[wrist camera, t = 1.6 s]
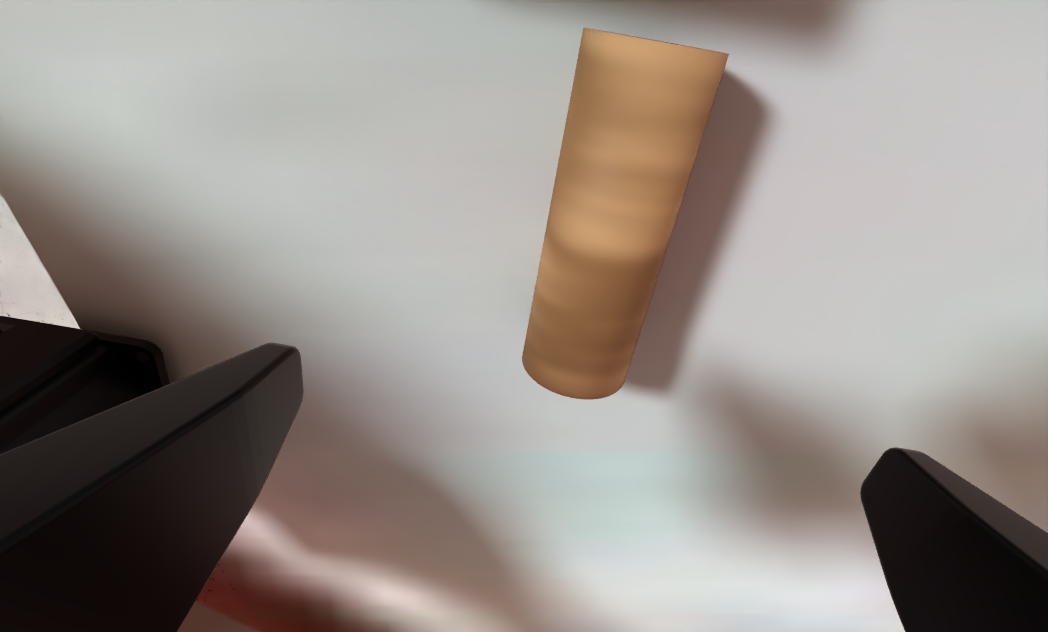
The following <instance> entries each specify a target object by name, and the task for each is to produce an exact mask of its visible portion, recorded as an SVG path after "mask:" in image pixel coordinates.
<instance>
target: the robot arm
mask: <svg viewBox="0 0 1048 632" xmlns="http://www.w3.org/2000/svg"><path fill="white" fill-rule="evenodd" d="M302 398H303V379H302V367H301V356H300V352H299V350H298V349H297V348H296V347H294V346H289V345H283V344H277V343H267V344H265V345H262V346H260V347H257V348H255V349H253V350H250V351H248V352H245V353H243V354H241V355H238V356H236V357H233V358H231V359H229V360H226V361H224V362H221V363H219V364H216V365H214V366H212V367H209V368H207V369H204V370H202V371H200V372H197V373H195V374H192V375H190V376H188V377H185V378H183V379H180V380H178V381H176V382H173V383H171V384H170V382H169V378H168V374H167V370H166V366H165V362H164V358H163V354H162V352H161V350H160V348H159V347H158V346H157V345H156V344H154V343H152V342H150V341H147V340H141V339H135V338H129V337H123V336H117V335H111V334H105V333H99V332H94V331H88V330H82V329H76V328H70V327H64V326H58V325H52V324H46V323H40V322H34V321H29V320H23V319H17V318H11V317H5V316H0V632H177V631H178V629H179V627H180V626H181V624H182V622H183V621H184V619H185V617H186V616H187V614H188V612H189V611H190V609H191V608H192V606H193V604H194V603H195V601H196V599H197V598H198V596H199V594H200V593H201V591H202V589H203V588H204V586H205V584H206V583H207V581H208V579H209V578H210V576H211V574H212V573H213V571H214V569H215V568H216V566H217V564H218V563H219V561H220V559H221V558H222V556H223V554H224V553H225V551H226V549H227V548H228V546H229V544H230V543H231V541H232V539H233V538H234V536H235V534H236V533H237V531H238V529H239V528H240V526H241V524H242V523H243V521H244V519H245V518H246V516H247V515H248V513H249V511H250V509H251V508H252V506H253V504H254V502H255V501H256V499H257V497H258V495H259V493H260V491H261V489H262V487H263V485H264V483H265V481H266V479H267V477H268V475H269V473H270V471H271V468H272V466H273V464H274V462H275V460H276V457H277V455H278V453H279V451H280V449H281V447H282V444H283V442H284V440H285V438H286V436H287V434H288V431H289V429H290V427H291V425H292V423H293V421H294V418H295V416H296V414H297V412H298V410H299V407H300V405H301V402H302ZM860 494H861V501H862V504H863V507H864V511H865V514H866V517H867V520H868V524H869V527H870V530H871V533H872V537H873V540H874V543H875V546H876V550H877V553H878V556H879V559H880V562H881V566H882V569H883V572H884V575H885V579H886V582H887V585H888V588H889V591H890V594H891V597H892V600H893V602H894V605H895V607H896V610H897V612H898V615H899V617H900V620H901V622H902V625H903V627H904V630H905V632H1048V533H1047V532H1045V531H1044V530H1042V529H1040V528H1039V527H1037V526H1036V525H1034V524H1033V523H1031V522H1030V521H1028V520H1026V519H1025V518H1023V517H1022V516H1020V515H1019V514H1017V513H1016V512H1014V511H1013V510H1011V509H1009V508H1008V507H1006V506H1005V505H1003V504H1002V503H1000V502H999V501H997V500H996V499H994V498H992V497H991V496H989V495H988V494H986V493H985V492H983V491H982V490H980V489H979V488H977V487H975V486H974V485H972V484H971V483H969V482H968V481H966V480H965V479H963V478H962V477H960V476H958V475H957V474H955V473H954V472H952V471H951V470H949V469H948V468H946V467H945V466H943V465H941V464H940V463H938V462H937V461H935V460H934V459H932V458H931V457H929V456H928V455H926V454H924V453H922V452H919V451H915V450H909V449H903V448H890V449H888V450H887V451H885V452H884V453H883V455H882V456H881V457H880V459H879V460H878V462H877V463H876V464H875V466H874V467H873V469H872V470H871V472H870V473H869V474H868V476H867V477H866V479H865V480H864V482H863V483H862V486H861V492H860Z"/></svg>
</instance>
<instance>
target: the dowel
mask: <svg viewBox="0 0 1048 632" xmlns="http://www.w3.org/2000/svg"><path fill="white" fill-rule="evenodd" d="M728 55H729V54H726V53H721V52H716V51H711V50H705V49H700V48H694V47H689V46H684V45H678V44H673V43H667V42H661V41H656V40H650V39H645V38H639V37H634V36H628V35H622V34H617V33H611V32H605V31H600V30H594V29H588V28H583V33H582V39H581V44H580V49H579V55H578V60H577V65H576V71H575V76H574V82H573V87H572V92H571V98H570V103H569V108H568V114H567V119H566V125H565V130H564V135H563V141H562V146H561V151H560V157H559V162H558V167H557V173H556V178H555V184H554V189H553V194H552V200H551V205H550V210H549V216H548V221H547V227H546V232H545V237H544V243H543V248H542V253H541V259H540V264H539V269H538V275H537V280H536V286H535V291H534V296H533V302H532V307H531V312H530V318H529V323H528V329H527V334H526V339H525V345H524V350H523V356H522V362H523V366H524V368H525V370H526V371H527V373H528V374H529V375H530V377H531V378H532V379H533V380H535V381H536V382H537V383H538V384H540V385H541V386H543V387H544V388H546V389H548V390H550V391H552V392H555V393H557V394H560V395H563V396H567V397H571V398H577V399H599V398H604V397H607V396H610V395H612V394H614V393H616V392H617V391H618V390H619V389H620V388H621V387H622V385H623V384H624V381H625V378H626V374H627V371H628V368H629V365H630V362H631V359H632V356H633V353H634V349H635V346H636V343H637V340H638V337H639V334H640V331H641V327H642V324H643V321H644V318H645V315H646V312H647V309H648V306H649V302H650V299H651V296H652V293H653V290H654V287H655V284H656V281H657V277H658V274H659V271H660V268H661V265H662V262H663V259H664V255H665V252H666V249H667V246H668V243H669V240H670V237H671V234H672V230H673V227H674V224H675V221H676V218H677V215H678V212H679V209H680V205H681V202H682V199H683V196H684V193H685V190H686V187H687V183H688V180H689V177H690V174H691V171H692V168H693V165H694V162H695V158H696V155H697V152H698V149H699V146H700V143H701V140H702V137H703V133H704V130H705V127H706V124H707V121H708V118H709V115H710V112H711V108H712V105H713V102H714V99H715V96H716V93H717V90H718V86H719V83H720V80H721V77H722V74H723V71H724V68H725V65H726V61H727V58H728Z"/></svg>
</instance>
